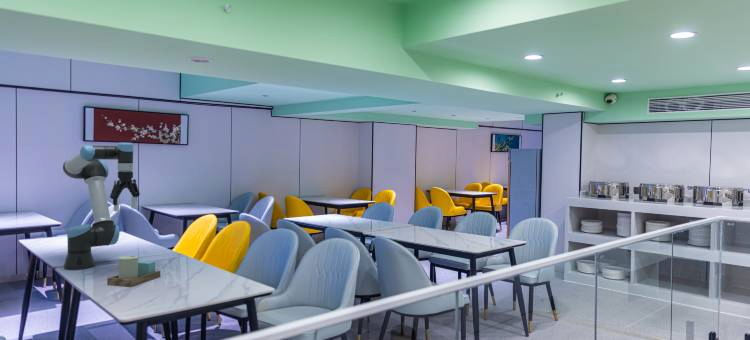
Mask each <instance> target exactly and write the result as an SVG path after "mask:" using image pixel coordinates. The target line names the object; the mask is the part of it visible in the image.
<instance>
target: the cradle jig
mask: <svg viewBox="0 0 750 340" xmlns="http://www.w3.org/2000/svg"><path fill="white" fill-rule="evenodd" d="M118 277H119V274H116V275H113V276H110V277H107V279H106V283H107V286H109V285H110V286H117V287H118V286H119V287H127V288H128V287H129V288H131V287H132V288H133V287H135V286H138V285H141V284H143V283H146V282H150V281H152V280H154V279H155V280H156V279H158V278H161V270H157V271H156V270H155V272H153V273H150V274H147V275H144V276H140V275H138V278H135V279H132V280H128V279H118Z"/></svg>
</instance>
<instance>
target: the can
mask: <svg viewBox="0 0 750 340" xmlns="http://www.w3.org/2000/svg"><path fill="white" fill-rule="evenodd" d="M117 260H118V275H119V277H118V279H128V280H132V279H135V278H138V261H139V256H137V255H124V256H123V255H122V256H119V257H118V258H117Z"/></svg>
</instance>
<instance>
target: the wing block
mask: <svg viewBox="0 0 750 340" xmlns="http://www.w3.org/2000/svg"><path fill="white" fill-rule="evenodd" d="M153 272H156V261H149V260H138V275H140V276H144V275H147V274H150V273H153Z"/></svg>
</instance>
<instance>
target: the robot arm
mask: <svg viewBox="0 0 750 340" xmlns="http://www.w3.org/2000/svg"><path fill="white" fill-rule="evenodd" d="M79 150H80V151H79V153H78V154H77V155H75V156H74V157H70V158H68V159H66V160H65V161H64V162H63V165H62V170H63V173H65V174H64V175H66V176H68V177H69V178H72V179H76V180H77V179H82V180H83V181H84V183H85V185H87V188H88V193H89V199H90V204H91V210H92V215H93V216H92V217H93V223H92V224H87V223H86V224H79V225H74V226H71V227H69V228H68V230H67V236H66V237H67V255H66V257H65V262H64V263H63V269H65V270H85V269H91V268H94V267H95V260H94V258H93V257H94V256H93V253H92V248H96V247H104V246H111V245H115V244H117V243H118V241H119V238H120V234H121V233H120V227H119V225H118V224H116V223H115V221H114V220H113V219H112V218H111V214H110V209H109V204H108V203H109V202H108V198H107V193H106V188H105V182H106V180H107V178H108V177H109V175H110V174H109V170H110V169H109V165H108V164H107V161H106V160H111V161H112V160H117V178H118V179H117V180H114V183H113V187H112V190H111V191H110V195H109V198H110V199H111V200H112V206H113V212H120V199H119V197H120V195H121V194H122V192H123V190H124V189H128V192H129V193H130V194H131V198H130V199H131V201H130V202H131V205H130V206H131V209H132V210H133V209H135V210H137V202H138V197H139V196H140V195H141V193H140V191H139V188H138V187H139V186H138V184H137V180H136V179H134V172H133V171H134V144H133V143H132V142H118V143H117V145H93V144H92V145H91V144H88V145H82V146H81V148H80V149H79Z"/></svg>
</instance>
